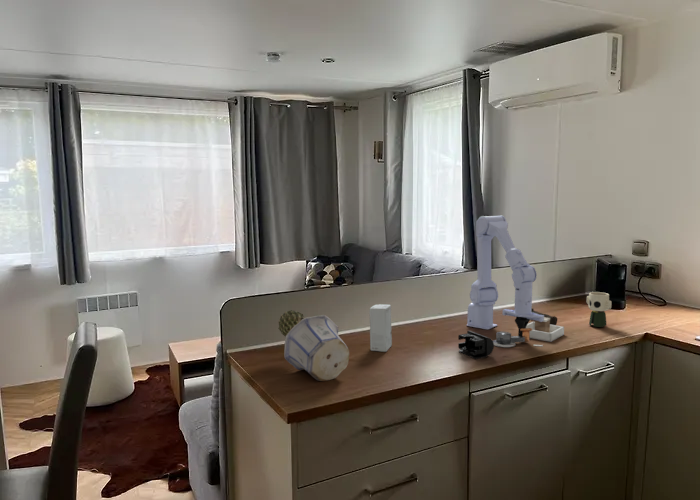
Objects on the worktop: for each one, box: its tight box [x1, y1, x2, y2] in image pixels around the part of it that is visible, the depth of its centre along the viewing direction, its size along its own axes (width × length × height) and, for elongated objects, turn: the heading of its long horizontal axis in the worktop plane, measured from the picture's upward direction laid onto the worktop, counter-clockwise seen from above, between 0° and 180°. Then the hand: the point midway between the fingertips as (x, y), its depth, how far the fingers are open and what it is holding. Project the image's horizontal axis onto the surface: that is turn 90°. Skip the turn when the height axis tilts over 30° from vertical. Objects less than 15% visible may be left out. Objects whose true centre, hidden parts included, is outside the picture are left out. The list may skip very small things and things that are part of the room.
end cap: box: [457, 330, 495, 360], centre depth 176 cm, size 10×7×7 cm
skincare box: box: [369, 303, 393, 353], centre depth 183 cm, size 8×6×15 cm
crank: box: [495, 328, 532, 344], centre depth 187 cm, size 13×5×5 cm, turn 95°
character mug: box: [586, 291, 612, 328], centre depth 207 cm, size 11×7×13 cm, turn 26°
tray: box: [526, 321, 565, 342], centre depth 197 cm, size 12×12×3 cm
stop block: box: [534, 317, 550, 333], centre depth 196 cm, size 4×4×6 cm
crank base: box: [492, 339, 544, 349], centre depth 186 cm, size 17×8×1 cm, turn 78°
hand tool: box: [531, 308, 558, 326], centre depth 218 cm, size 19×4×5 cm, turn 20°
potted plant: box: [277, 309, 350, 382], centre depth 164 cm, size 18×18×30 cm
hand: (522, 337), depth 189 cm, fingers closed, pressing on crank
